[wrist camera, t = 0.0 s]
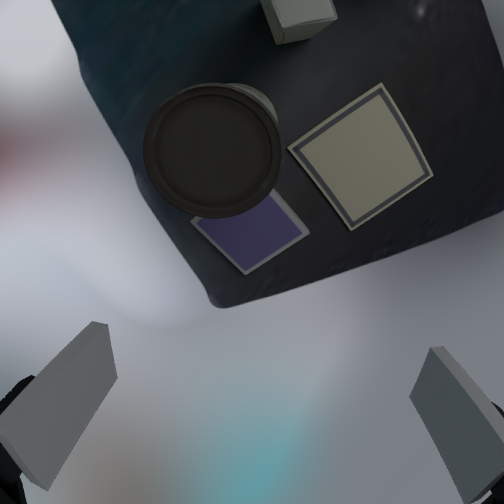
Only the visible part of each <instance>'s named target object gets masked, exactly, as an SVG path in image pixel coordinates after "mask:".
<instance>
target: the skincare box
mask: <svg viewBox="0 0 504 504" xmlns="http://www.w3.org/2000/svg"><path fill="white" fill-rule="evenodd" d="M260 2H261V5H262V7H263V10H264V13H265V16H266V19H267V21H268V24H269V27H270V30H271V32H272V35H273V38H274V40H275V43H276V45H280V44H285V43H290V42H295V41H300V40H305V39H310V38H312V37H314V36H315V35H316V34H317V33H319V32H320V31H321V30H323V29H324V28H325V27H326V26H328V25H329V24H331V23H332V22H333V21H335V20H336V19H337V14H336V11H335V8H334V5H333V3H332V0H260Z"/></svg>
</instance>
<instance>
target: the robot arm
mask: <svg viewBox="0 0 504 504" xmlns="http://www.w3.org/2000/svg"><path fill="white" fill-rule="evenodd" d="M116 380H117V373H116V368H115V363H114V358H113V353H112V347H111V341H110V335H109V329H108V324H103V323H98V322H93V321H92V322H91V323H90V324H89V325H88V326H87V327H86V328H85V329H83V330H82V331H81V332H80V333H79V334H78V335H77V336H76V337H75V338H74V339H73V340H72V341H71V342H70V343H69V344H68V345H67V346H66V347H65V348H64V349H63V350H62V351H61V352H60V353H59V354H58V355H57V356H56V357H55V358H54V359H53V360H52V361H51V362H50V363H49V364H48V365H47V366H46V367H45V368H44V369H43V370H42V371H41V372H40V373H39V374H38V375H37V376H36V377H35V376H32V375H30V376H29V377H27V378H25V379H23V380H21V381H20V382H18V383H17V384H16V385H15V387H14V388H13V389H12V391H10V392H9V393H8V394H7V395H6V396H5V398H3V399H2V400H1V401H0V504H27V502H26V498H25V493H24V489H23V484H22V481H21V479H20V477H19V476H20V474H21V473H22V472H23V473H24V475H25V476H26V477H27V478H28V479H29V480H30V482H32V483H34V484H36V485H37V486H39V487H41V488H43V489H44V490H46V491H48V490H49V488H50V487H51V485H52V483H53V481H54V479H55V478H56V476H57V474H58V473H59V471H60V469H61V468H62V466H63V464H64V463H65V461H66V459H67V457H68V456H69V454H70V452H71V451H72V449H73V447H74V446H75V444H76V442H77V441H78V439H79V438H80V436H81V434H82V433H83V431H84V430H85V428H86V426H87V425H88V423H89V422H90V420H91V418H92V417H93V415H94V414H95V412H96V411H97V409H98V407H99V406H100V404H101V403H102V401H103V400H104V398H105V397H106V395H107V393H108V392H109V390H110V389H111V387H112V386H113V384H114V383H115V381H116ZM409 397H410V399H411V401H412V402H413V404H414V406H415V408H416V410H417V411H418V413H419V415H420V417H421V418H422V420H423V422H424V424H425V426H426V428H427V430H428V432H429V433H430V435H431V437H432V439H433V441H434V443H435V445H436V447H437V448H438V451H439V452H440V455H441V457H442V459H443V461H444V462H445V465H446V466H447V468H448V471H449V473H450V475H451V477H452V479H453V481H454V483H455V485H456V487H457V489H458V492H459V494H460V496H461V498H462V500H463V503H464V504H471V503H473V502H475V501H477V500H479V499H481V498H482V497H483V496H484V495H485V494H486V493H487V492H488V491H489V490H491V492H492V494H491V495H490V496H489V497H488V498H487V499H486V500H485V501H484V502H482V503H481V504H504V412H503V410H502V409H501V408H500V407H498V406H497V405H496V404H494V403H493V402H491V401H490V400H489V399H488V398H487V396H486V395H485V394H484V393H483V392H482V390H481V389H480V388H479V387H478V386H477V384H476V383H475V382H474V381H473V380H472V378H471V377H470V376H469V375H468V374H467V373H466V371H465V370H464V369H463V368H462V367H461V366H460V364H459V363H458V362H457V361H456V360H455V359H454V358H453V357H452V355H451V354H450V353H449V352H448V351H447V350H446V349H445V348H444V347H430V349H429V352H428V355H427V357H426V360H425V362H424V365H423V367H422V369H421V372H420V374H419V377H418V379H417V381H416V383H415V385H414V388H413V390H412V392H411V394H410V396H409Z"/></svg>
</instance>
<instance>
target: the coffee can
mask: <svg viewBox="0 0 504 504" xmlns="http://www.w3.org/2000/svg"><path fill="white" fill-rule="evenodd" d="M143 158H144V164H145V167H146V170H147V173H148V176H149V178H150V180H151V182H152V184H153V185H154V187H155V188H156V190H157V191H158V192H159V194H160V195H161V196H162V197H163V198H164V199H165V200H166V201H168V202H169V203H170V204H172V205H173V206H175V207H176V208H178V209H180V210H181V211H184V212H186V213H188V214H191V215H194V216H197V217H201V218H209V219H218V218H219V219H220V218H227V217H233V216H236V215H239V214H242V213H244V212H247V211H248V210H250V209H252V208H254V207H255V206H257V205H258V204H259V203H261V202H262V201H263V200H264V199H265V198H266V197H267V196H268V195H269V194H270V192H271V191H272V189H273V188H274V186H275V185H276V183H277V181H278V179H279V176H280V174H281V171H282V167H283V161H284V143H283V137H282V134H281V131H280V128H279V125H278V120H277V114H276V111H275V109H274V107H273V105H272V103H271V102H270V101H269V99H268V98H267V97H266V96H265V95H264V94H263V93H261V92H260V91H259V90H257V89H255V88H254V87H251V86H248V85H245V84H240V83H228V84H222V83H204V84H197V85H193V86H190V87H187V88H184V89H182V90H180V91H178V92H176V93H175V94H173V95H172V96H170V97H169V98H168V99H166V100H165V101H164V102H163V103H162V104H161V105H160V106H159V107H158V109H157V110H156V111H155V113H154V114H153V116H152V118H151V120H150V122H149V124H148V126H147V129H146V133H145V136H144V142H143Z"/></svg>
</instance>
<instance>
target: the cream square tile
mask: <svg viewBox="0 0 504 504" xmlns="http://www.w3.org/2000/svg"><path fill="white" fill-rule="evenodd" d="M287 148H288V149H289V150H290V152H291V153H292V154H293V155H294V157H295V158H296V159H297V160H298V161H299V163H300V164H301V165H302V166H303V168H304V169H305V170H306V171H307V173H308V174H309V175H310V177H311V178H312V179H313V180H314V182H315V183H316V184H317V186H318V187H319V188H320V189H321V191H322V192H323V193H324V195H325V196H326V197H327V199H328V200H329V201H330V203H331V204H332V205H333V207H334V208H335V210H336V211H337V212H338V214H339V215H340V216H341V218H342V219H343V221H344V222H345V223H346V225H347V226H348V228H349V229H350V230H351V231H352V230H353V229H355V228H357V227H358V226H360V225H361V224H363V223H364V222H366V221H367V220H369V219H370V218H372V217H373V216H375V215H376V214H378V213H379V212H381V211H382V210H384V209H385V208H387V207H388V206H390V205H391V204H393V203H394V202H396V201H397V200H399V199H400V198H402V197H403V196H404V195H406V194H407V193H409V192H410V191H412V190H413V189H415V188H416V187H418V186H419V185H420V184H422V183H423V182H425V181H426V180H428V179H429V178H430V177H432V176H433V174H432V171H431V169H430V167H429V165H428V163H427V161H426V159H425V157H424V155H423V153H422V151H421V149H420V147H419V145H418V143H417V141H416V139H415V137H414V136H413V134H412V132H411V130H410V128H409V126H408V125H407V123H406V121H405V119H404V118H403V116H402V114H401V113H400V111H399V109H398V108H397V106H396V104H395V103H394V101H393V100H392V98H391V96H390V95H389V93H388V92H387V90H386V89H385V87H384V86H383V84H382V83H379V84H377V85H376V86H374V87H373V88H371V89H370V90H368V91H367V92H365V93H364V94H362V95H361V96H359V97H358V98H356V99H355V100H353V101H352V102H350V103H349V104H347V105H346V106H344V107H343V108H341V109H340V110H338V111H337V112H336V113H334V114H333V115H331V116H330V117H328V118H327V119H326V120H324V121H323V122H321V123H320V124H318V125H317V126H316V127H314V128H313V129H312V130H310V131H309V132H307V133H306V134H305V135H303V136H302V137H300V138H299V139H298V140H296V141H295V142H294V143H292V144H291V145H290V146H288V147H287Z"/></svg>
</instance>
